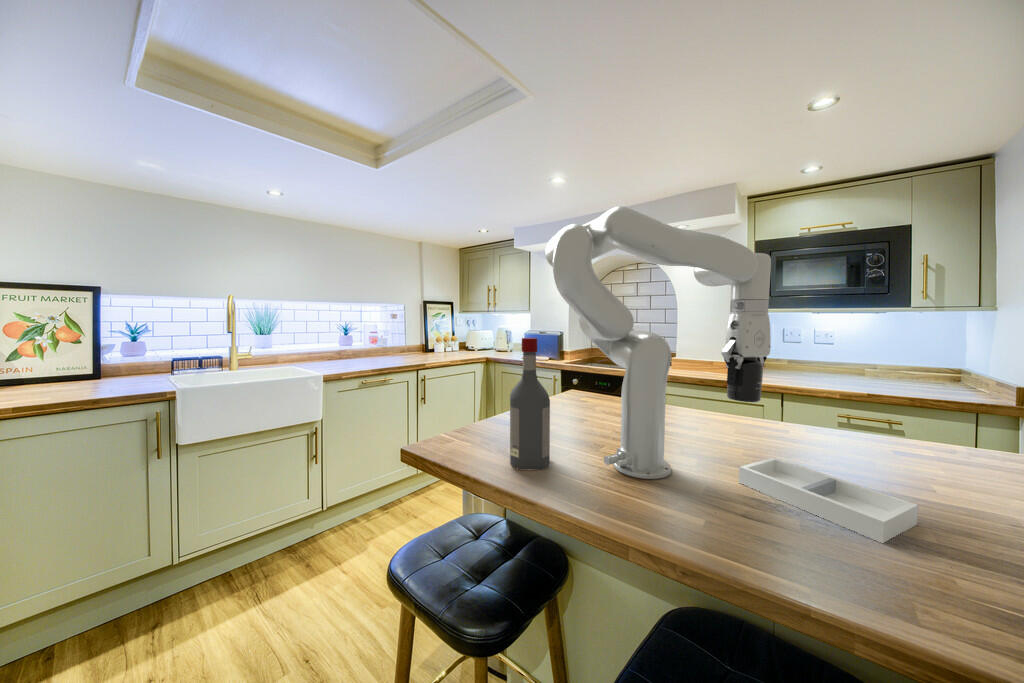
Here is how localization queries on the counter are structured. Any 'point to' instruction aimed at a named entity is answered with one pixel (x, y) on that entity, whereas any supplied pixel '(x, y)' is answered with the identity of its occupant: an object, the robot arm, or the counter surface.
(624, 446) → the robot arm
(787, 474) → the caddy
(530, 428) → the liquor
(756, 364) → the supplement bottle
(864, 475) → the counter surface
